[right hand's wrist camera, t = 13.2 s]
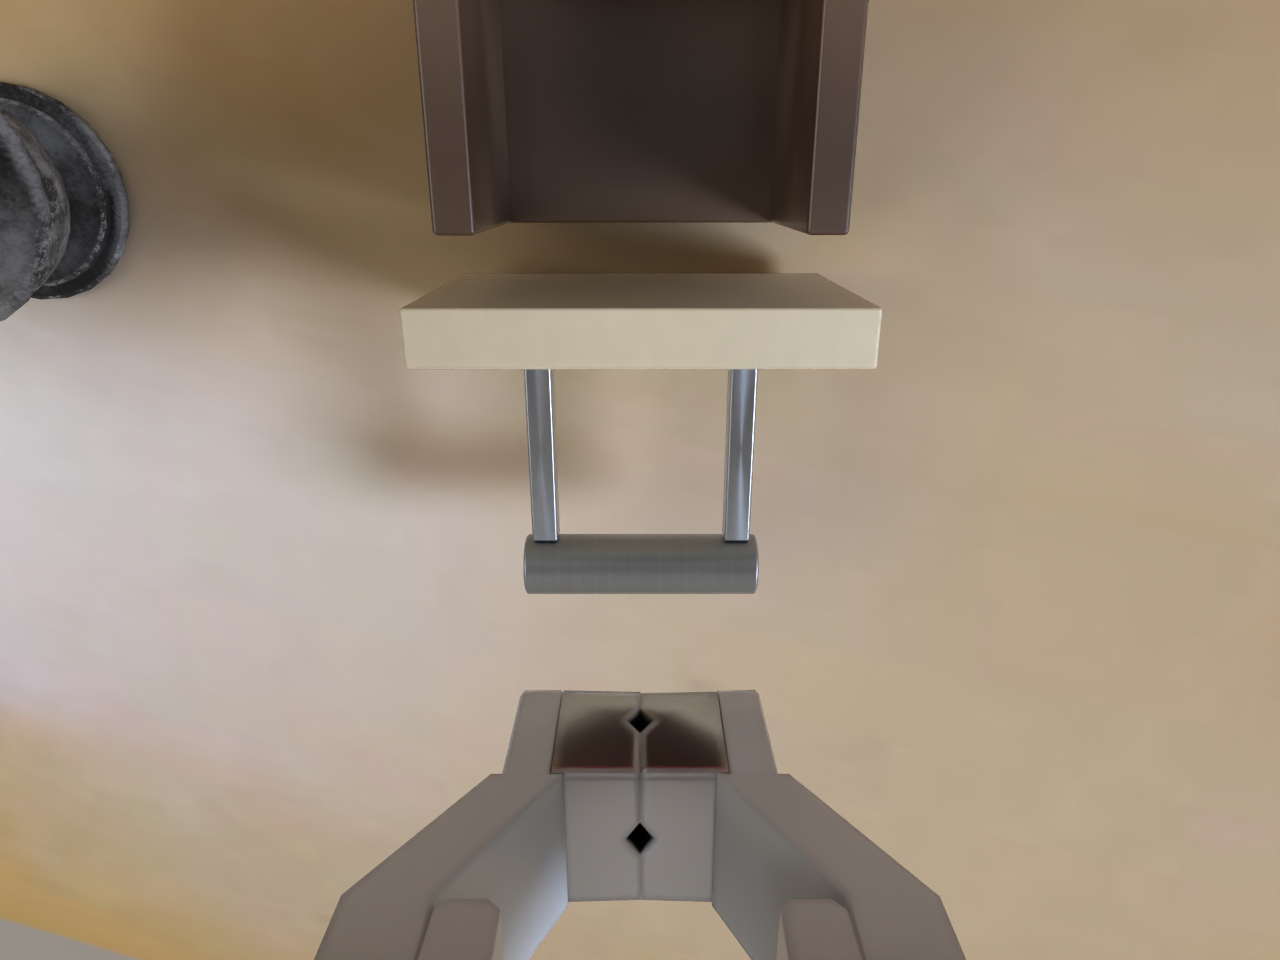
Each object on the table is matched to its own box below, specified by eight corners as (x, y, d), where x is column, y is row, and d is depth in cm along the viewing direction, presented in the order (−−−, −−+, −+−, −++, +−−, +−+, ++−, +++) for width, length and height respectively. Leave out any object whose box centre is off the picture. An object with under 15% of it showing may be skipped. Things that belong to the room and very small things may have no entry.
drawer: (799, 532, 24) (849, 642, 18) (482, 532, 24) (432, 643, 18) (889, -694, 15) (1038, -1214, 9) (390, -692, 15) (241, -1212, 9)
